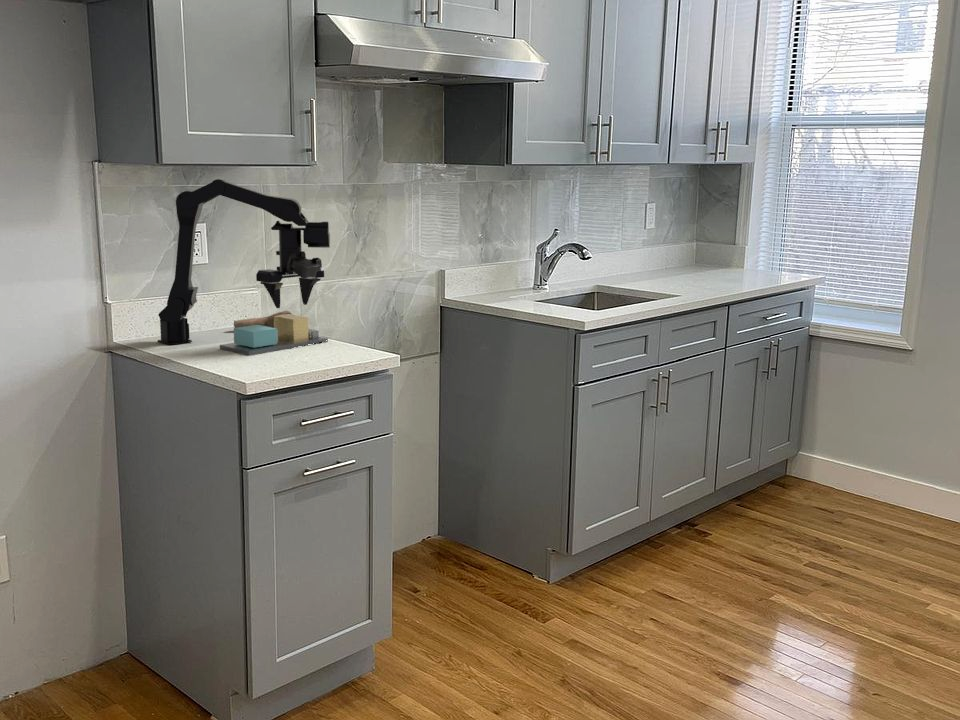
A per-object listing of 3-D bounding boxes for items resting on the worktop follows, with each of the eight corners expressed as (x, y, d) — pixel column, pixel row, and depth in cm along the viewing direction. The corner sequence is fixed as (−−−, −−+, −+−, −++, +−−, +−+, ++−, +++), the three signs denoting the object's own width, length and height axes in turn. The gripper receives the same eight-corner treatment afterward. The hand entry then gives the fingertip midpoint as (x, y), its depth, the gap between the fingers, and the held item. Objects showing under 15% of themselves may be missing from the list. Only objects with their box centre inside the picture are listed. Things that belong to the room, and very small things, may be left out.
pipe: (229, 314, 268) (239, 313, 259) (286, 310, 276) (297, 309, 268) (231, 336, 269) (241, 336, 260) (287, 332, 277) (299, 332, 268)
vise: (249, 355, 235) (248, 343, 234) (219, 348, 242) (219, 337, 242) (327, 341, 255) (327, 330, 254) (298, 336, 262) (298, 325, 261)
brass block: (274, 338, 253) (273, 316, 252) (288, 335, 257) (288, 314, 255) (293, 342, 248) (293, 319, 247) (308, 339, 252) (308, 317, 251)
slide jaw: (253, 347, 238) (253, 332, 237) (234, 343, 243) (233, 328, 242) (278, 343, 244) (278, 328, 243) (259, 339, 249) (258, 324, 248)
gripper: (282, 251, 235) (283, 313, 239) (337, 247, 250) (338, 305, 253) (254, 248, 242) (255, 308, 245) (309, 244, 256) (310, 301, 260)
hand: (291, 306), depth 251 cm, fingers open, 9 cm apart
